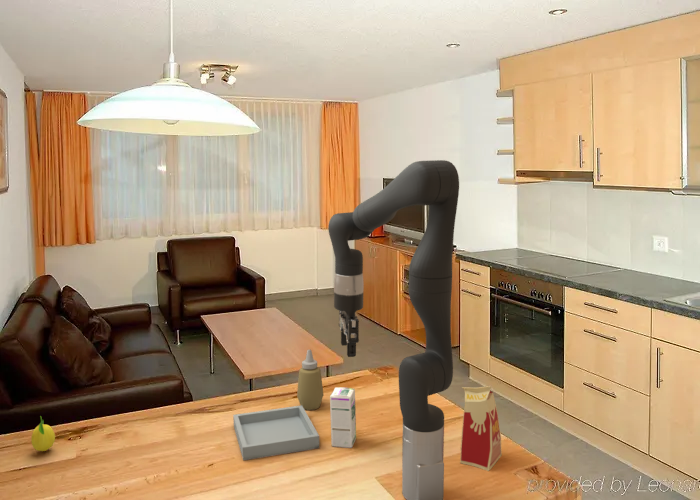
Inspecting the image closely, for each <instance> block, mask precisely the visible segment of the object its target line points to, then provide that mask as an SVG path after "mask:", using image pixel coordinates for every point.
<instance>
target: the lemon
mask: <svg viewBox="0 0 700 500" xmlns="http://www.w3.org/2000/svg"><path fill="white" fill-rule="evenodd" d="M39 417H40V423H39V424H38V425H37V426H36V427H35V428H34V430H33V431H32V433H31V438H30V439H31V440H30V441H31V444H32V445H31V446H32V447H33V449H34V450H36V452H37V451H39V452H43V451H46V450H49V449H51V448H52V447H53V445H54V444H55V441H56V433H55V430H54V429H53V428H52V427H51V426H50V425H49V424H44V423H45V422H44V420H43V419H42V416H41V415H40V416H39ZM46 452H47V451H46Z"/></svg>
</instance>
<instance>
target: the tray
mask: <svg viewBox="0 0 700 500" xmlns="http://www.w3.org/2000/svg"><path fill="white" fill-rule="evenodd" d="M232 416H233V428H234V432H235V436H236V439H237V442H238V443H237V444H238V446H239V450H240V454H241V458H242V460H243V461H248V460H255V459H261V458H267V457H272V456H279V455H286V454H290V453H291V454H293V453H299V452H303V451H304V452H305V451H312V450H315V449H320V435H319V433H318V431H317V430H316V427H315V426H314V425H313V422H312V420H311V419H310V417H309V415H308V413H307V412H306V409H304V408H303V406H302V405H295V406H289V407H279V408H274V409H273V408H272V409H267V410H265V409H264V410H258V411H251V412H244V413H238V414H232Z"/></svg>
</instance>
